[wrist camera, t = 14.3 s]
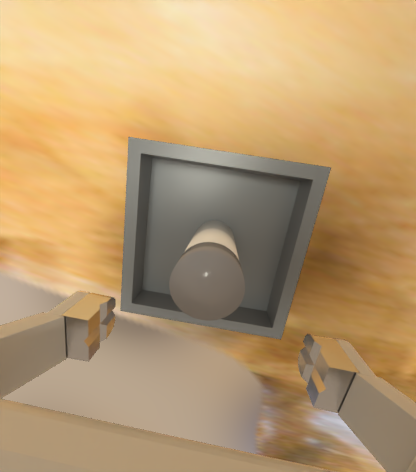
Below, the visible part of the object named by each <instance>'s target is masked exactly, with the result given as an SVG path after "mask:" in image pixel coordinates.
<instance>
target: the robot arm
mask: <svg viewBox="0 0 416 472" xmlns="http://www.w3.org/2000/svg"><path fill="white" fill-rule="evenodd" d="M114 307H115V299H114V297H109V296H104V295H100V294H95V293H90V292H85V291H77V292H76V293H74V294H73V295H71V296H70V297H69V298H67V299H66V300H65V301H63V302H62V303H60V304H59V305H57V306H56V307H55V308H53V309H52V310H50V311H49V312H48V313H44V312H42V313H40V314H36V315H33V316H30V317H26V318H23V319H20V320H16V321H14V322H10V323H7V324H3V325H0V472H336V471H331V470H327V469H322V468H318V467H313V466H308V465H304V464H299V463H294V462H290V461H285V460H280V459H276V458H271V457H267V456H262V455H257V454H252V453H248V452H243V451H239V450H233V449H229V448H225V447H220V446H216V445H211V444H206V443H202V442H197V441H193V440H188V439H184V438H179V437H174V436H170V435H165V434H160V433H156V432H152V431H147V430H142V429H138V428H133V427H128V426H124V425H119V424H115V423H110V422H106V421H101V420H96V419H92V418H87V417H83V416H78V415H74V414H69V413H64V412H60V411H55V410H50V409H46V408H41V407H37V406H32V405H28V404H23V403H18V402H13V401H9V400H4V399H2V398H3V397H4V396H6V395H8V394H9V393H11V392H13V391H14V390H16V389H17V388H19V387H21V386H22V385H24V384H26V383H27V382H29V381H31V380H32V379H34V378H36V377H37V376H39V375H41V374H42V373H44V372H46V371H47V370H49V369H51V368H52V367H54V366H56V365H57V364H59V363H61V362H62V361H64V360H66V358H71V359H77V360H83V361H89V360H90V359H91V358H92V356H93V355H94V354H95V353H96V351H97V350H98V349H99V347H100V342H101V341H103V340H105V339H106V338H107V337H108V336H109V334H110V333H111V331H112V329H113V327H114V323H115V314H114V313H113V311H112V310H113V309H114ZM303 342H304V345H305V348H303V349H302V350H301V351H300V353H299V357H298V366H299V371H300V374H301V377H302V378H303V379H304V380H305V381H306V382H307V383H308V385H307V388H306V390H307V392H308V395H309V397H310V400H311V402H312V405H313V407H314V408H318V409H323V410H327V411H331V412H335V413H339V414H338V415H339V416H340V417H341V418H342V420H343V421H344V422H345V423H346V424H347V426H348V427H349V428H350V429H351V430H352V431H353V433H354V434H355V435H356V436H357V437H358V438H359V440H360V441H361V442H362V443H363V444H364V445H365V447H366V448H367V449H368V450H369V451H370V453H371V454H372V455H373V456H374V457H375V458H376V460H377V461H378V462H379V463H380V464H381V465H382V467H383V468H384V469H385V470H386V471H387V472H416V403H415V402H414V401H413V400H411V399H410V398H408V397H407V396H406V395H404V394H403V393H401V392H400V391H399V390H397V389H396V388H394V387H393V386H392V385H390V384H389V383H387V382H386V381H385V380H383V379H382V378H379V377H376V376H375V374H374V373H373V372H372V371H371V369H370V368H369V367H368V365H367V364H366V363H365V362H364V360H363V359H362V358H361V357H360V355H359V354H358V353H357V351H356V350H355V349H354V348H353V346H352V345H351V344H350V343H349V342H348V341H346V340H342V339H336V338H327V337H322V336H316V335H311V334H307V335H306V336H305V338H304V341H303Z"/></svg>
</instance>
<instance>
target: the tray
mask: <svg viewBox="0 0 416 472" xmlns="http://www.w3.org/2000/svg"><path fill="white" fill-rule="evenodd" d="M330 170H331V168H330V167H324V166H317V165H311V164H304V163H297V162H291V161H284V160H278V159H271V158H264V157H258V156H251V155H245V154H238V153H231V152H225V151H218V150H212V149H205V148H198V147H192V146H185V145H179V144H172V143H166V142H159V141H152V140H146V139H139V138H133V137H129V140H128V162H127V183H126V204H125V226H124V247H123V268H122V289H121V311H125V312H130V313H136V314H142V315H147V316H153V317H158V318H164V319H170V320H175V321H181V322H186V323H192V324H198V325H203V326H209V327H214V328H220V329H226V330H231V331H237V332H242V333H248V334H254V335H259V336H265V337H270V338H276V339H281V337H282V334H283V331H284V327H285V324H286V320H287V317H288V313H289V310H290V307H291V303H292V300H293V296H294V293H295V289H296V286H297V283H298V279H299V276H300V272H301V269H302V265H303V262H304V259H305V255H306V252H307V248H308V245H309V242H310V238H311V235H312V231H313V228H314V224H315V221H316V218H317V214H318V211H319V207H320V204H321V200H322V197H323V194H324V190H325V187H326V183H327V180H328V176H329V173H330ZM212 220H216V221H221V222H223V223H225V224H226V225H227V226H229V228H230V229H231V230H232V232H233V235H234V240H235V244H236V249H237V253H238V258H239V262H240V264H241V268H242V272H243V277H244V281H245V294H244V297H243V300H242V302H241V304H240V305H239V307H238V308H237V309H236V310H235V311H234V312H233V313H231V314H230V315H228V316H226V317H224V318H221V319H218V320H211V321H206V320H199V319H196V318H193V317H191V316H189V315H187V314H185V313H184V312H183V311H182V310H180V309H179V308H178V306H177V305H176V304H175V302H174V301H173V299H172V296H171V293H170V288H169V281H170V276H171V273H172V271H173V269H174V267H175V266H176V264H177V262H178V260H179V259H180V257H181V256H182V254H183V253H184V252H185V250H186V248H187V246H188V245H189V243H190V241H191V239H192V238H193V236H194V234H195V232H196V231H197V229H198V228H199V227H200V226H201V225H202V224H203V223H205V222H207V221H212Z"/></svg>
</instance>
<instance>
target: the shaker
mask: <svg viewBox="0 0 416 472" xmlns="http://www.w3.org/2000/svg"><path fill="white" fill-rule="evenodd" d="M169 288H170V293H171V296H172V299H173V301H174V302H175V304H176V305H177V306H178V308H179V309H180V310H182V311H183V312H184V313H185V314H187V315H189V316H191V317H193V318H196V319H199V320H206V321H211V320H218V319H221V318H224V317H226V316H228V315H230V314H231V313H233V312H234V311H235V310H236V309H237V308H238V307H239V305H240V304H241V302H242V300H243V297H244V294H245V281H244V277H243V272H242V268H241V264H240V262H239V258H238V253H237V249H236V244H235V240H234V235H233V232H232V230H231V229H230V228H229V226H227V225H226V224H225V223H223V222H221V221H216V220H212V221H207V222H205V223H203V224H202V225H201V226H200V227H199V228H198V229H197V231H196V232H195V234H194V236H193V238H192V239H191V241H190V243H189V245H188V246H187V248H186V250H185V252H184V253H183V254H182V256H181V257H180V259H179V260H178V262H177V264H176V266H175V267H174V269H173V271H172V273H171V276H170V281H169Z"/></svg>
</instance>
